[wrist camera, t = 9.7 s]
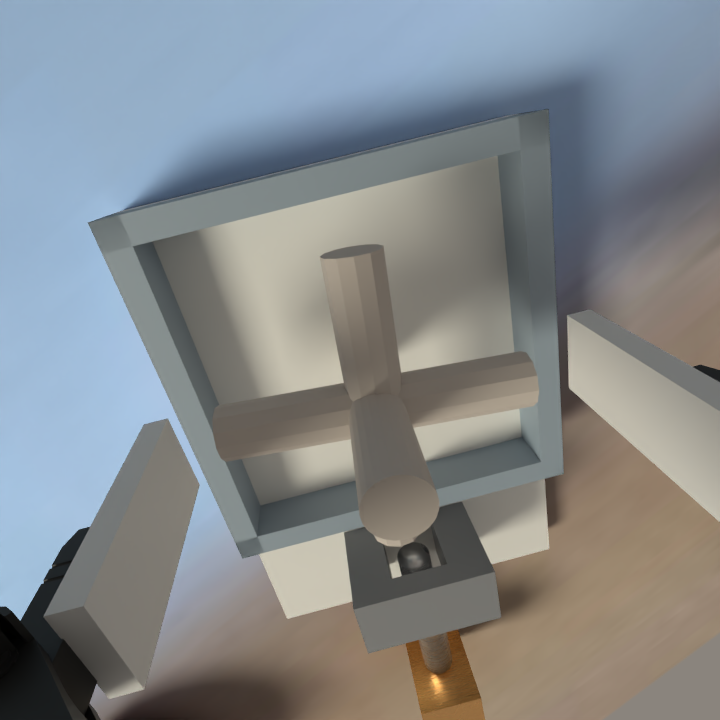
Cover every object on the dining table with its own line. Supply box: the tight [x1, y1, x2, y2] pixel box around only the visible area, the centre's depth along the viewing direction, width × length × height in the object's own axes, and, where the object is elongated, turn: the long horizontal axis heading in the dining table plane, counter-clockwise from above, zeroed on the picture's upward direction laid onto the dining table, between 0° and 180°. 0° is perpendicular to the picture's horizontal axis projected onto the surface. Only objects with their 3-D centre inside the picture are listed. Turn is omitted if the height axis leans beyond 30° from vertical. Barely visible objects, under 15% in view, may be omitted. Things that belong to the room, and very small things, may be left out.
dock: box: [88, 109, 564, 653], centre depth 20 cm, size 22×15×6 cm
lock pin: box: [397, 542, 485, 720], centre depth 25 cm, size 11×3×4 cm, turn 13°
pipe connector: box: [212, 244, 539, 547], centre depth 15 cm, size 10×10×10 cm
